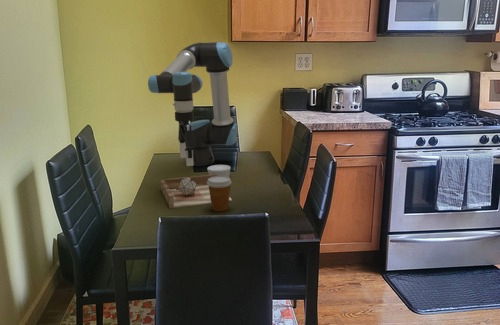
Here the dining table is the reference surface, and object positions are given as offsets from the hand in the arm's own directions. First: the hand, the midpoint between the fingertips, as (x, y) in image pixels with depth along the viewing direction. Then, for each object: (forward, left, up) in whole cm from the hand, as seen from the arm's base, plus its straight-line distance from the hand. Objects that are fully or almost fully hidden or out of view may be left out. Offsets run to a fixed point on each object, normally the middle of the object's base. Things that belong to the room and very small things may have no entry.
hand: (186, 161), depth 189 cm
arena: (-1, +3, -15) cm, 16 cm away
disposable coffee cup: (+19, +9, -16) cm, 26 cm away
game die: (0, 0, -15) cm, 15 cm away
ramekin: (-23, +20, -16) cm, 34 cm away
